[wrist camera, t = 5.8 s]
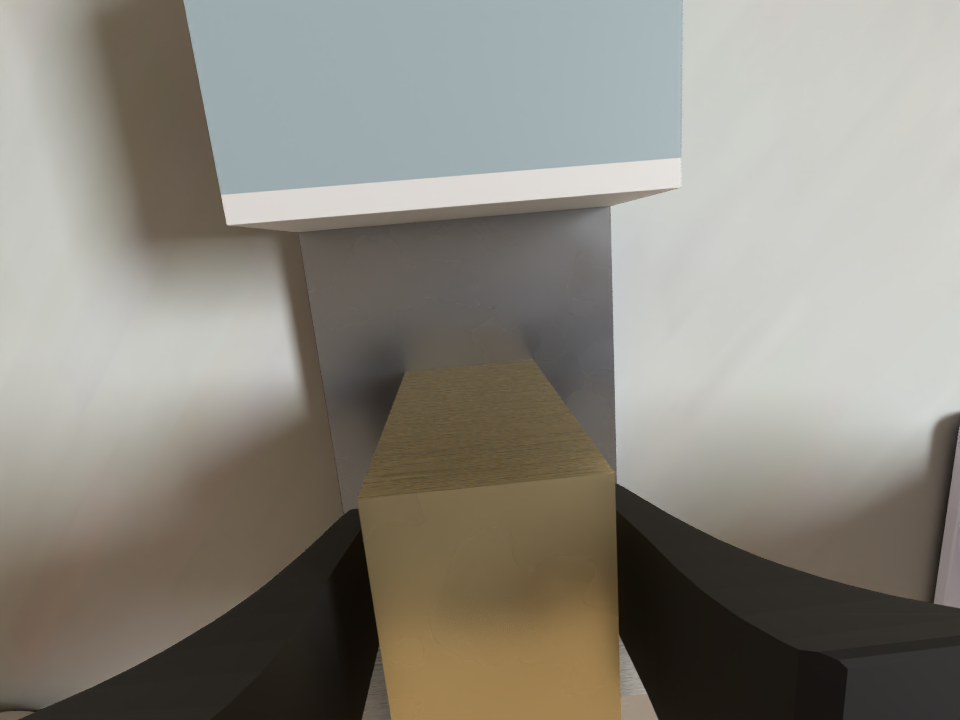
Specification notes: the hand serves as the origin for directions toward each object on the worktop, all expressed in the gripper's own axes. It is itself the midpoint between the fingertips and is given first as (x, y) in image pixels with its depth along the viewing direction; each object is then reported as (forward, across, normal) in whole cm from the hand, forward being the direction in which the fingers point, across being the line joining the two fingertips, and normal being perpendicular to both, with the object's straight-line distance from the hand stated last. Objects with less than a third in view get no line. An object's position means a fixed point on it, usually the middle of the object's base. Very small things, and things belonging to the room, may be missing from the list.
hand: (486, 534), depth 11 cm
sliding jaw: (+4, 0, -11) cm, 11 cm away
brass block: (+3, 0, 0) cm, 3 cm away
